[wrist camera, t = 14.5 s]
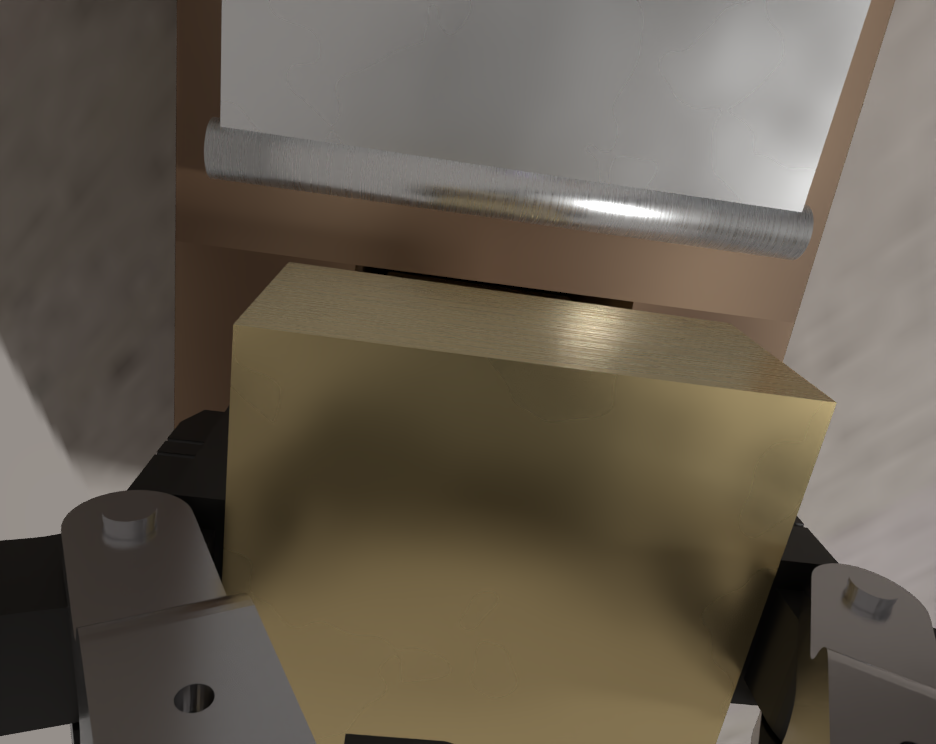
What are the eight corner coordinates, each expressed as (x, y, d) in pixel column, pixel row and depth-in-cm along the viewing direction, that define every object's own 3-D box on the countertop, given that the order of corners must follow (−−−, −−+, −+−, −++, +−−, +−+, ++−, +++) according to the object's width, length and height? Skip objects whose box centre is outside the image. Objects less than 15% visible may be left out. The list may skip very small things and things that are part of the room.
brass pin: (632, 250, 16) (836, 402, 8) (573, 505, 18) (686, 826, 10) (337, 207, 15) (233, 323, 7) (313, 476, 17) (212, 794, 9)
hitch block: (848, -350, 15) (1083, -606, 10) (625, 530, 23) (686, 669, 17) (280, -477, 14) (182, -846, 9) (240, 490, 22) (173, 625, 16)
